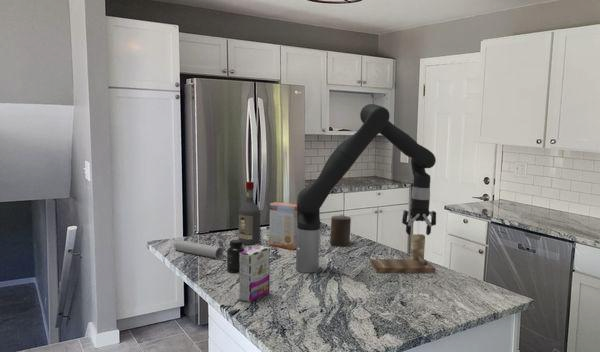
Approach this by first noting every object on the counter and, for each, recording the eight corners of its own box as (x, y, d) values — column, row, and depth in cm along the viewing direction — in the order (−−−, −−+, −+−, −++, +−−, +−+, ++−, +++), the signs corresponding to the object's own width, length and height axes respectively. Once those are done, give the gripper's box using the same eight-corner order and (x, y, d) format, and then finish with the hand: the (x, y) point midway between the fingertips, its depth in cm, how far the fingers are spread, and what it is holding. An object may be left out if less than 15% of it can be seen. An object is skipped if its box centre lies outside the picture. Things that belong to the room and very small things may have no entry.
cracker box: (299, 247, 222) (300, 204, 219) (292, 250, 217) (294, 206, 214) (275, 242, 229) (276, 201, 227) (268, 245, 224) (269, 202, 222)
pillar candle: (340, 247, 223) (341, 217, 222) (325, 243, 231) (327, 213, 229) (353, 245, 230) (355, 215, 228) (339, 240, 237) (341, 212, 235)
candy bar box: (258, 290, 165) (259, 244, 163) (269, 293, 162) (270, 247, 160) (238, 299, 155) (238, 251, 153) (249, 303, 153) (250, 254, 151)
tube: (170, 243, 210) (214, 251, 198) (178, 237, 214) (221, 244, 202) (173, 253, 212) (216, 261, 200) (181, 247, 216) (224, 255, 204)
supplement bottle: (223, 270, 186) (223, 240, 184) (236, 266, 191) (237, 237, 189) (234, 274, 181) (234, 244, 180) (247, 270, 186) (248, 241, 185)
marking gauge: (419, 270, 191) (421, 241, 190) (410, 261, 204) (411, 234, 203) (431, 270, 192) (433, 241, 190) (421, 261, 204) (422, 234, 203)
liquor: (248, 239, 235) (249, 180, 232) (262, 242, 230) (263, 182, 226) (235, 242, 228) (236, 182, 224) (249, 246, 222) (250, 184, 219)
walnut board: (377, 272, 187) (377, 267, 187) (370, 263, 199) (370, 259, 199) (435, 272, 189) (435, 267, 189) (425, 264, 201) (425, 259, 201)
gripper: (407, 198, 195) (404, 236, 197) (440, 199, 196) (437, 236, 198) (401, 195, 203) (399, 232, 205) (433, 196, 204) (431, 232, 206)
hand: (418, 234), depth 201 cm, fingers open, 8 cm apart
